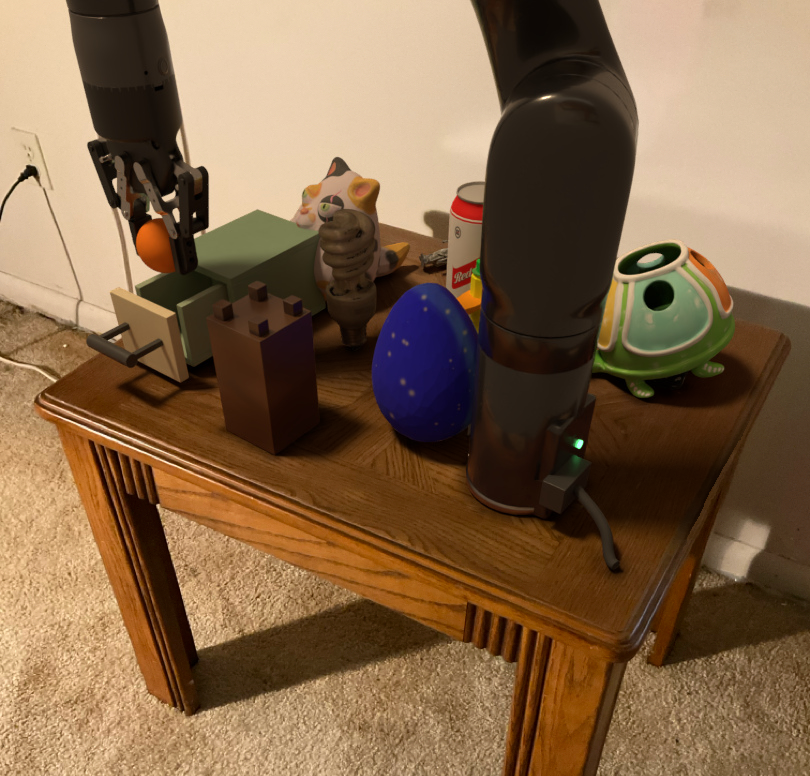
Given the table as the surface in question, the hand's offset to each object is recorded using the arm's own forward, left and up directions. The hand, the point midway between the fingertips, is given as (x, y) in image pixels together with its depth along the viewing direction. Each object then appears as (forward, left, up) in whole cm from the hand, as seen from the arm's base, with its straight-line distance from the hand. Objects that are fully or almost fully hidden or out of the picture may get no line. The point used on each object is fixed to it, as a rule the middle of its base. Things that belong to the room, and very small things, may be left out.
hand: (167, 262), depth 80 cm
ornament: (-28, -5, -11) cm, 30 cm away
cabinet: (0, -10, -11) cm, 15 cm away
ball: (0, 0, +2) cm, 2 cm away
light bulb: (-13, -12, -11) cm, 21 cm away
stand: (-16, +3, -11) cm, 19 cm away
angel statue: (-8, -36, -8) cm, 38 cm away
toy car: (-42, -29, -11) cm, 53 cm away
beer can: (-22, -22, -11) cm, 33 cm away
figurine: (-4, -24, -11) cm, 26 cm away
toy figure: (-25, -16, -11) cm, 32 cm away
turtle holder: (-41, -28, -10) cm, 51 cm away
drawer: (0, +1, -10) cm, 10 cm away
